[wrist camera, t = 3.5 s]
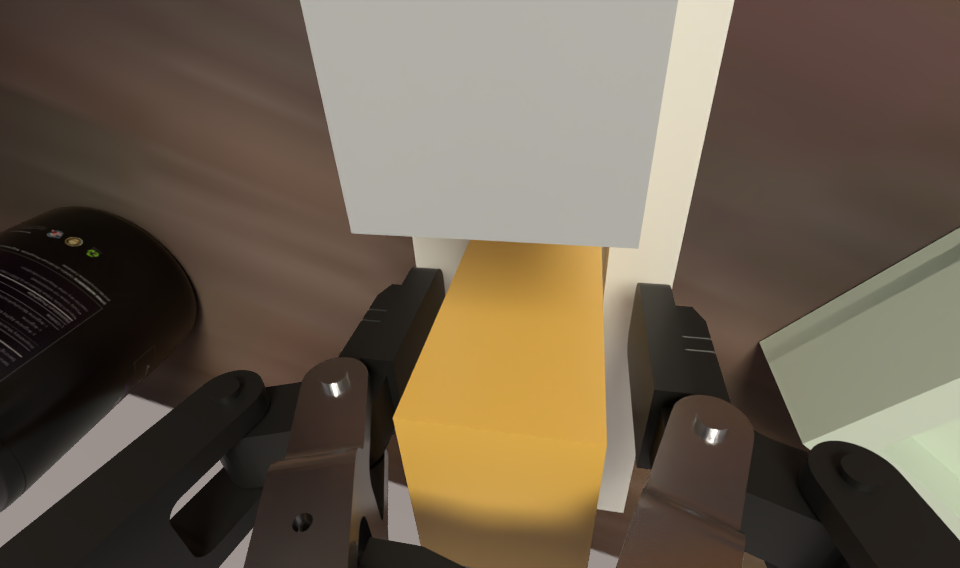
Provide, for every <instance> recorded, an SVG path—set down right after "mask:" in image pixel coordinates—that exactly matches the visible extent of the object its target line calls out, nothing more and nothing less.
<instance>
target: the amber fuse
mask: <svg viewBox="0 0 960 568" xmlns="http://www.w3.org/2000/svg"><path fill="white" fill-rule="evenodd" d="M393 421H394V426H395V431H396V435H397V440H398V444H399V449H400V453H401V458H402V462H403V467H404V471H405V476H406V480H407V485H408V489H409V494H410V498H411V503H412V507H413V512H414V516H415V521H416V525H417V530H418V534H419V539H420V544H421V546H423V547H425V548H427V549H429V550H431V551H433V552H435V553H437V554H439V555H441V556H443V557H445V558H447V559H449V560H451V561H453V562H455V563H457V564H459V565H462V566H467V567H473V568H587V567H588V561H589V555H590V549H591V542H592V536H593V530H594V524H595V517H596V511H597V505H598V499H599V492H600V486H601V480H602V474H603V468H604V461H605V455H606V449H607V426H606V390H605V353H604V317H603V281H602V247H597V246H579V245H560V244H542V243H523V242H505V241H486V240H470V241H469V243H468V245H467V248H466V250H465V252H464V255H463V257H462V259H461V261H460V264H459V266H458V268H457V271H456V273H455V275H454V278H453V280H452V282H451V285H450V287H449V289H448V291H447V294H446V296H445V298H444V301H443V303H442V305H441V308H440V310H439V312H438V315H437V317H436V319H435V321H434V324H433V326H432V328H431V331H430V333H429V335H428V338H427V340H426V342H425V345H424V347H423V349H422V351H421V354H420V356H419V358H418V361H417V363H416V365H415V368H414V370H413V372H412V375H411V377H410V379H409V381H408V384H407V386H406V388H405V391H404V393H403V395H402V398H401V400H400V402H399V404H398V407H397V409H396V411H395V414H394V416H393Z"/></svg>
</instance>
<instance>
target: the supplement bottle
mask: <svg viewBox="0 0 960 568" xmlns="http://www.w3.org/2000/svg"><path fill="white" fill-rule="evenodd" d="M196 314H197V306H196V299H195V294H194V291H193V288H192V286H191V283H190V281H189V279H188V277H187V275H186V274H185V272H184V270H183V269H182V267H181V266H180V265H179V263H178V262H177V261H176V259H175V258H174V257H173V256H172V255H171V253H170V252H169V251H168V250H167V249H166V248H165V247H164V246H163V245H161V244H160V243H159V242H158V241H157V240H156V239H155V238H153V237H152V236H151V235H150V234H148V233H147V232H145V231H144V230H143V229H141V228H139V227H138V226H136V225H135V224H133V223H131V222H129V221H127V220H125V219H123V218H121V217H119V216H116V215H114V214H111V213H108V212H105V211H102V210H98V209H93V208H87V207H74V206H73V207H62V208H57V209H54V210H51V211H48V212H45V213H43V214H40V215H38V216H36V217H34V218H31V219H29V220H27V221H25V222H22V223H20V224H18V225H15V226H13V227H11V228H9V229H7V230H5V231H2V232H0V512H2V511H3V510H5V509H6V508H7V507H8V506H9V505H11V504H12V503H13V502H14V501H15V500H16V499H17V498H18V497H20V496H21V495H22V494H23V493H24V492H25V491H26V490H27V489H28V488H30V487H31V485H33V484H34V483H35V482H36V481H37V480H38V479H39V478H40V477H41V476H42V475H43V474H44V473H45V472H46V471H47V470H49V469H50V468H51V467H52V466H53V465H54V464H55V463H56V462H57V461H58V460H59V459H60V458H61V457H62V456H63V455H64V454H65V453H66V452H68V451H69V450H70V449H71V448H72V447H73V446H74V445H75V444H76V443H77V442H78V441H79V440H80V439H81V438H82V437H83V436H84V435H85V434H86V433H88V431H90V430H91V429H92V428H93V427H94V426H95V425H96V424H97V423H98V422H99V421H100V420H101V419H102V418H103V417H104V416H105V415H107V414H108V413H109V412H110V410H112V409H113V408H114V407H115V406H116V405H117V404H118V403H119V402H120V401H121V400H122V399H123V398H124V397H126V395H128V394H129V393H130V392H131V391H132V390H133V389H134V388H135V387H136V386H137V385H138V384H139V383H140V382H141V381H142V380H143V379H145V378H146V377H147V376H148V375H149V374H150V373H151V372H152V371H153V370H154V369H155V368H156V367H157V366H158V365H159V364H160V363H161V362H162V361H164V360H165V359H166V358H167V357H168V356H169V355H170V354H171V353H172V352H173V351H174V350H175V349H176V348H177V347H178V346H179V345H180V344H181V343H182V342H183V341H184V340H185V339H186V338H187V336H188V335H189V334H190V332H191V330H192V328H193V326H194V324H195V320H196Z"/></svg>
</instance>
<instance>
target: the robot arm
mask: <svg viewBox="0 0 960 568" xmlns="http://www.w3.org/2000/svg"><path fill="white" fill-rule="evenodd" d="M444 298H445V286H444V277H443V272H442V270H441V269H434V268H419V267H413V268H412V269H411V270H410V272H409V273H408V275H407V277H406V278H405V280H404V282H403V284H402V285H395V284H392V285H391V286H389V287H388V288H387V289H385V290H384V291H383V292H381V293H380V294H378V295H377V297H376V299H375V300H374V302H373V303H372V305H371V306H370V310H369V311H367V313H366V314H365V316H364V318H363V321H361V322H360V324H359V325H358V327H357V329H356V330H355V332H354V333H353V335H352V336H351V338H350V340H349V341H348V343H347V344H346V346H345V347H344V349H343V351H342V352H341V354H340V355H339V357H338V358H333V359H329V360H326V361H324V362H322V363H320V364H318V365H316V366H315V367H313V368H312V369H311V370H310V371H309V372H308V373H307V374H306V375H305V377H304V378H303V380H302V382H298V383H292V384H285V385H278V386H271V387H265V386H264V383H263V381H262V379H261V377H260V376H259V375H258V374H257V373H255V372H252V371H247V370H238V371H232V372H228V373H225V374H222V375H220V376H217V377H215V378H213V379H212V380H210V381H208V382H207V383H206V384H204V385H203V386H202V387H201V388H199V389H198V390H197V391H196V392H194V393H193V394H192V395H191V396H189V397H188V398H187V399H186V400H184V401H183V402H182V403H181V404H179V405H178V406H177V407H176V408H174V409H173V410H172V411H171V412H169V413H168V414H167V415H166V416H164V417H163V418H162V419H161V420H159V421H158V422H157V423H156V424H154V425H153V426H152V427H151V428H149V429H148V430H147V431H146V432H144V433H143V434H142V435H141V436H139V437H138V438H137V439H136V440H134V441H133V442H132V443H131V444H129V445H128V446H127V447H126V448H124V449H123V450H122V451H121V452H119V453H118V454H117V455H116V456H114V457H113V458H112V459H111V460H110V461H108V462H107V463H106V464H104V465H103V466H102V467H101V468H99V469H98V470H97V471H96V472H94V473H93V474H92V475H91V476H89V477H88V478H87V479H86V480H84V481H83V482H82V483H81V484H79V485H78V486H77V487H76V488H74V489H73V490H72V491H71V492H69V493H68V494H67V495H66V496H64V497H63V498H62V499H61V500H59V501H58V502H57V503H56V504H54V505H53V506H52V507H51V508H49V509H48V510H47V511H46V512H45V513H43V514H42V515H41V516H39V517H38V518H37V519H36V520H34V521H33V522H32V523H31V524H29V525H28V526H27V527H26V528H24V529H23V530H22V531H21V532H19V533H18V534H17V535H16V536H14V537H13V538H12V539H11V540H9V541H8V542H7V543H6V544H4V545H3V546H2V547H1V548H0V568H219V567H220V565H221V564H222V563H223V562H224V561H225V560H226V558H227V557H228V556H229V555H230V554H231V553H232V551H233V550H234V549H235V548H236V547H237V546H238V544H239V543H240V542H241V541H242V540H243V539H244V537H245V536H246V535H247V534H248V533H249V531H250V530H251V529H252V528H253V527H254V528H253V532H252V536H251V540H250V544H249V548H248V552H247V556H246V560H245V564H244V568H465V567H463V566H461V565H459V564H457V563H455V562H453V561H451V560H449V559H447V558H445V557H443V556H441V555H439V554H437V553H435V552H433V551H431V550H429V549H427V548H425V547H423V546H417V545H412V544H406V543H400V542H395V541H389V540H388V452H387V448H386V447H387V445H388V443H389V440H390V438H391V436H392V434H396V431H395V426H394V421H393V416H394V414H395V411H396V409H397V407H398V404H399V402H400V400H401V398H402V395H403V393H404V391H405V388H406V386H407V384H408V381H409V379H410V377H411V375H412V372H413V370H414V368H415V365H416V363H417V361H418V358H419V356H420V354H421V351H422V349H423V347H424V345H425V342H426V340H427V338H428V335H429V333H430V331H431V328H432V326H433V324H434V321H435V319H436V317H437V315H438V312H439V310H440V308H441V305H442V303H443V301H444ZM710 338H711V337H710V334H709V331H708V327H707V324H706V321H705V320H704V319H703V318H702V317H701V316H700V315H699V314H698V313H697V312H696V311H695V310H694V309H693V307H685V306H675V302H674V298H673V294H672V289H671V286H670V285H668V284H653V283H637V286H636V290H635V296H634V302H633V308H632V314H631V320H630V326H629V333H628V344H627V357H628V369H629V381H630V393H631V405H632V417H633V428H634V440H635V452H636V464H637V468H644V469H651V473H650V476H649V479H648V482H647V484H646V487H645V488H644V489H643V491H642V494H641V496H640V499H639V502H638V505H637V508H636V510H635V513H634V516H633V519H632V522H631V525H630V528H629V531H628V534H627V537H626V539H625V542H624V545H623V548H622V551H621V554H620V557H619V560H618V563H617V566H616V568H742V564H743V557H744V551H745V552H747V553H749V554H751V555H753V556H756V557H758V558H760V559H762V560H764V562H765V564H766V566H767V568H960V540H959V539H958V538H957V537H956V535H955V534H954V533H953V532H952V531H951V530H950V529H949V527H948V526H947V525H946V524H945V523H944V522H943V521H942V520H941V518H940V517H939V516H938V515H937V514H936V513H935V512H934V510H933V509H932V508H931V507H930V506H929V505H928V504H927V502H926V501H925V500H924V499H923V498H922V497H921V496H920V495H919V493H918V492H917V491H916V490H915V489H914V488H913V487H912V485H911V484H910V483H909V482H908V481H907V480H906V479H905V477H904V476H903V475H902V474H901V473H900V472H899V471H898V470H897V469H896V468H895V467H894V466H893V465H892V464H890V463H889V462H888V461H887V460H885V459H884V458H882V457H881V456H879V455H878V454H876V453H874V452H872V451H871V450H868V449H866V448H864V447H862V446H859V445H856V444H853V443H849V442H844V441H825V442H821V443H819V444H817V445H815V446H814V447H813V448H812V449H811V451H810V452H809V453H808V452H805V451H802V450H799V449H796V448H794V447H791V446H788V445H785V444H782V443H780V442H777V441H774V440H772V439H769V438H767V437H765V436H763V435H761V434H759V433H758V432H756V431H755V430H753V427H752V425H751V423H750V421H749V420H748V418H747V417H746V416H745V415H744V414H743V412H741V411H740V410H739V409H738V408H736V407H735V406H733V405H732V404H731V403H730V399H729V396H728V393H727V389H726V386H725V383H724V380H723V376H722V373H721V370H720V367H719V363H718V360H717V357H716V354H714V351H715V350H714V347H713V344H712V340H710ZM219 460H220V461H221V463H222V465H223V466H224V467H223V468H222V469H221V470H220V471H219V472H218V473H217V474H216V475H215V476H214V477H213V478H212V479H211V480H210V481H209V482H208V483H207V484H206V485H205V486H204V487H203V488H202V489H201V490H200V491H199V492H198V493H197V494H196V495H195V496H194V497H193V498H192V499H191V500H190V501H189V502H188V503H187V504H186V505H185V506H184V507H183V508H182V509H181V510H180V511H178V513H176V514H175V515H174V516H173V518H172V519H170V514H171V511H172V509H173V507H174V505H175V504H176V502H177V501H178V500H179V499H180V498H181V497H182V496H183V495H184V493H186V492H187V491H188V490H189V489H190V488H191V487H192V486H193V485H194V484H195V483H196V482H197V481H198V480H199V479H200V478H201V477H202V476H203V475H204V474H205V473H206V472H208V470H210V469H211V468H212V467H213V466H214V465H215V464H216V463H217V462H218V461H219Z"/></svg>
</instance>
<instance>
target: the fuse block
mask: <svg viewBox="0 0 960 568" xmlns="http://www.w3.org/2000/svg"><path fill="white" fill-rule="evenodd" d="M733 4H734V0H678V4H677V10H676V16H675V23H674V29H673V35H672V41H671V48H670V54H669V60H668V66H667V73H666V79H665V85H664V91H663V98H662V104H661V110H660V116H659V123H658V129H657V135H656V141H655V148H654V154H653V160H652V166H651V173H650V179H649V185H648V191H647V198H646V204H645V210H644V216H643V223H642V229H641V235H640V241H639V248H638V249H634V248H616V247H602V281H603V317H604V353H605V390H606V426H607V449H606V455H605V461H604V468H603V474H602V480H601V486H600V492H599V499H598V505H597V509H600V510H607V511H613V512H620V513H623V512H624V507H625V502H626V498H627V493H628V489H629V484H630V479H631V475H632V470H633V465H634V461H635V456H636V452H635V440H634V428H633V417H632V405H631V393H630V381H629V369H628V357H627V344H628V333H629V326H630V320H631V314H632V308H633V302H634V296H635V290H636V286H637V283H653V284H668V285H670V286H671V289H672V285H673V281H674V276H675V272H676V267H677V262H678V258H679V253H680V249H681V244H682V239H683V235H684V230H685V225H686V221H687V216H688V212H689V207H690V202H691V198H692V193H693V188H694V184H695V179H696V175H697V170H698V165H699V161H700V156H701V152H702V147H703V142H704V138H705V133H706V128H707V124H708V119H709V115H710V110H711V105H712V101H713V96H714V92H715V87H716V82H717V78H718V73H719V68H720V64H721V59H722V55H723V50H724V45H725V41H726V36H727V32H728V27H729V22H730V18H731V13H732V8H733ZM412 239H413V246H414V253H415V260H416V267H419V268H434V269H441V270H442V272H443V277H444V286H445V296H446V294H447V291H448V289H449V287H450V285H451V282H452V280H453V278H454V275H455V273H456V271H457V268H458V266H459V264H460V261H461V259H462V257H463V255H464V252H465V250H466V248H467V245H468V243H469V241H470V240H468V239H449V238H431V237H412Z"/></svg>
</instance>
